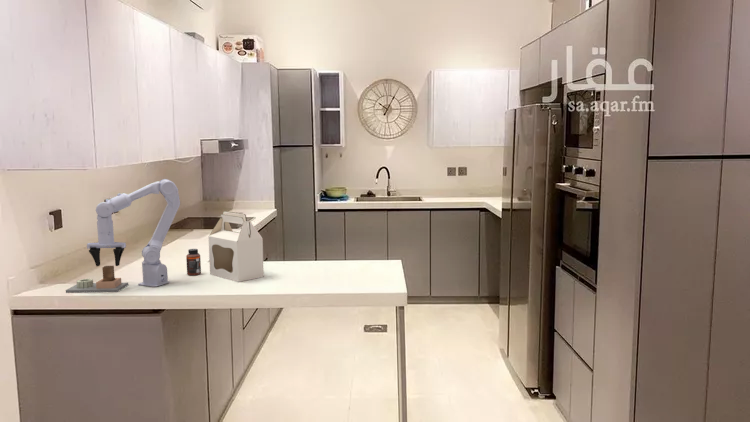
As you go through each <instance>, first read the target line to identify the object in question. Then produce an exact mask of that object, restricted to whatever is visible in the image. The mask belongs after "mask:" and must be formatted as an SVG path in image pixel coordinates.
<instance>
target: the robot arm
mask: <svg viewBox="0 0 750 422" xmlns="http://www.w3.org/2000/svg"><path fill="white" fill-rule="evenodd" d="M151 194H154V195H160V194H161V195H162V196H163V197H164V200H165V201H166V206H165V208H164V209H163V212H162V213H161V214H162V215H161V217H160V219H159V220H158V223H157V225H156V228H155V230H154V231H153V234H152V236H151V238H150V240H149V241H148V242H147V244H146V246H144V247H143V248H142V249H141V256H142V257H143V260H142V261H141V269H142V272H141V273H142V282H139V283H138V284H137V285H138V286H145V287H154V288H155V287H159V286H163V285H166V284H169V283H170V281H168V280H169V278H168V276H169V275H168V267H167V265H166V264H164V263H162V260H160V258H161V251H162V246H163V244H164V242H165V239H166V237H167V234H168V232H169V230H170V227H171V225H172V223H173V222H174V219H175V217H176V215H177V212H178V210H179V208H180V205H181V201H180V193H179V189H178V187H177V185H176V183H175V182H174V181H172V180H170V179H168V178H163V179H161V180H159V181H157V180H156V181H154V182H152V183H149V184H147V185H145V186H143V187H141V188H139V189H137V190H134V191H132V192H131V193H130V192H129V193H125V192H123V193H121V192H119V193H117V194H116V196H113V197H111V198H110V199H108V198H107V199H105V201H103V202H102V201H101V202H99V203H98V204H96V207H95V212H96V220H97V221H96V227H97V229H96V230H97V239H98V240H97V242H88V243H86V249H87V250H88V253H89V254H90V255H91V257H92V258H93V261H94V264H95V266H96V267H100V266H101V249H113V250H112V251H113V254H114V263H115V267H119V266H120V265H121V263H120V262H121V258H122V256H123V252H124V251H125V248H127V243H126V242H123V241H121V242H120V241H115V234H114V232H115V231H114V221H113V220H114V219H113V216H112V214H113V213H118V212H119V211H120V212H121V210H124V209H126V208H129V207H131V205H132V202H135V201H136V200H139V199H141V198H143V197H146V196H148V195H151Z"/></svg>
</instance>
